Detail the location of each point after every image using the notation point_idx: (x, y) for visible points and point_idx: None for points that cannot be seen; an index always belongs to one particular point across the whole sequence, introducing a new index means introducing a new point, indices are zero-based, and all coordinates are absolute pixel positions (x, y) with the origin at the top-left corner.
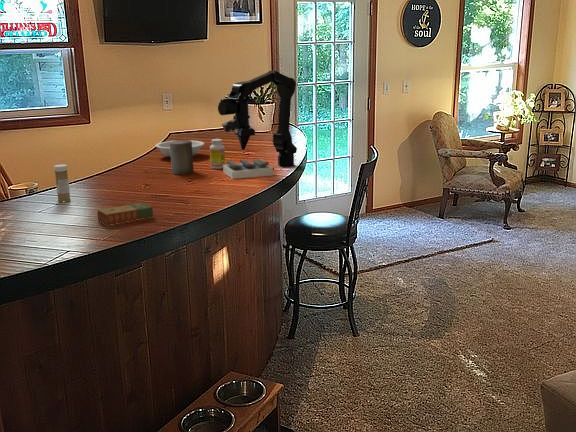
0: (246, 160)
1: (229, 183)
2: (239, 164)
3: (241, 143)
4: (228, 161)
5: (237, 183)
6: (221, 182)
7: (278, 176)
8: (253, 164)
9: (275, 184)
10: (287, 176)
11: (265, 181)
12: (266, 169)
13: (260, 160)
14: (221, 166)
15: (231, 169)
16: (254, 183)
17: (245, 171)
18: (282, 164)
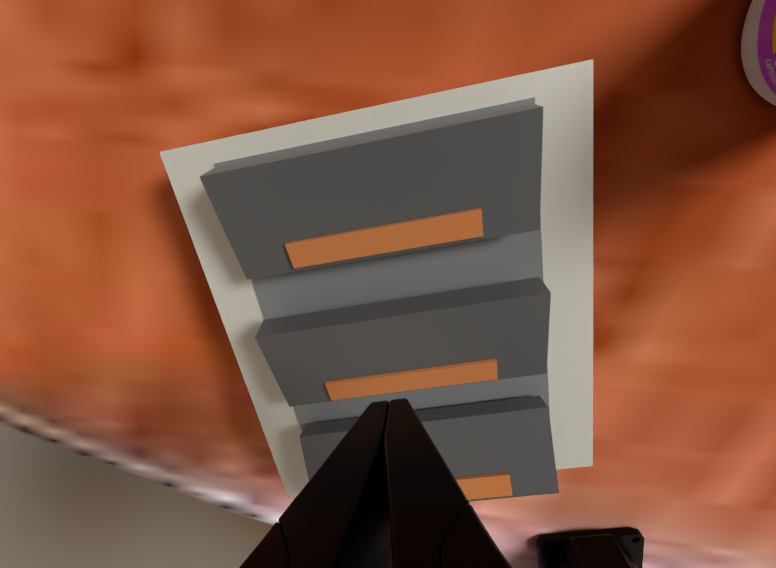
0: (547, 354)
1: (17, 111)
2: (327, 259)
3: (291, 506)
4: (478, 128)
5: (25, 184)
6: (50, 30)
7: (262, 475)
8: (312, 392)
9: (26, 427)
10: (256, 516)
11: (110, 386)
12: (273, 452)
13: (458, 472)
14: (756, 58)
15: (274, 153)
16: (40, 311)
17: (214, 288)
18: (567, 557)
